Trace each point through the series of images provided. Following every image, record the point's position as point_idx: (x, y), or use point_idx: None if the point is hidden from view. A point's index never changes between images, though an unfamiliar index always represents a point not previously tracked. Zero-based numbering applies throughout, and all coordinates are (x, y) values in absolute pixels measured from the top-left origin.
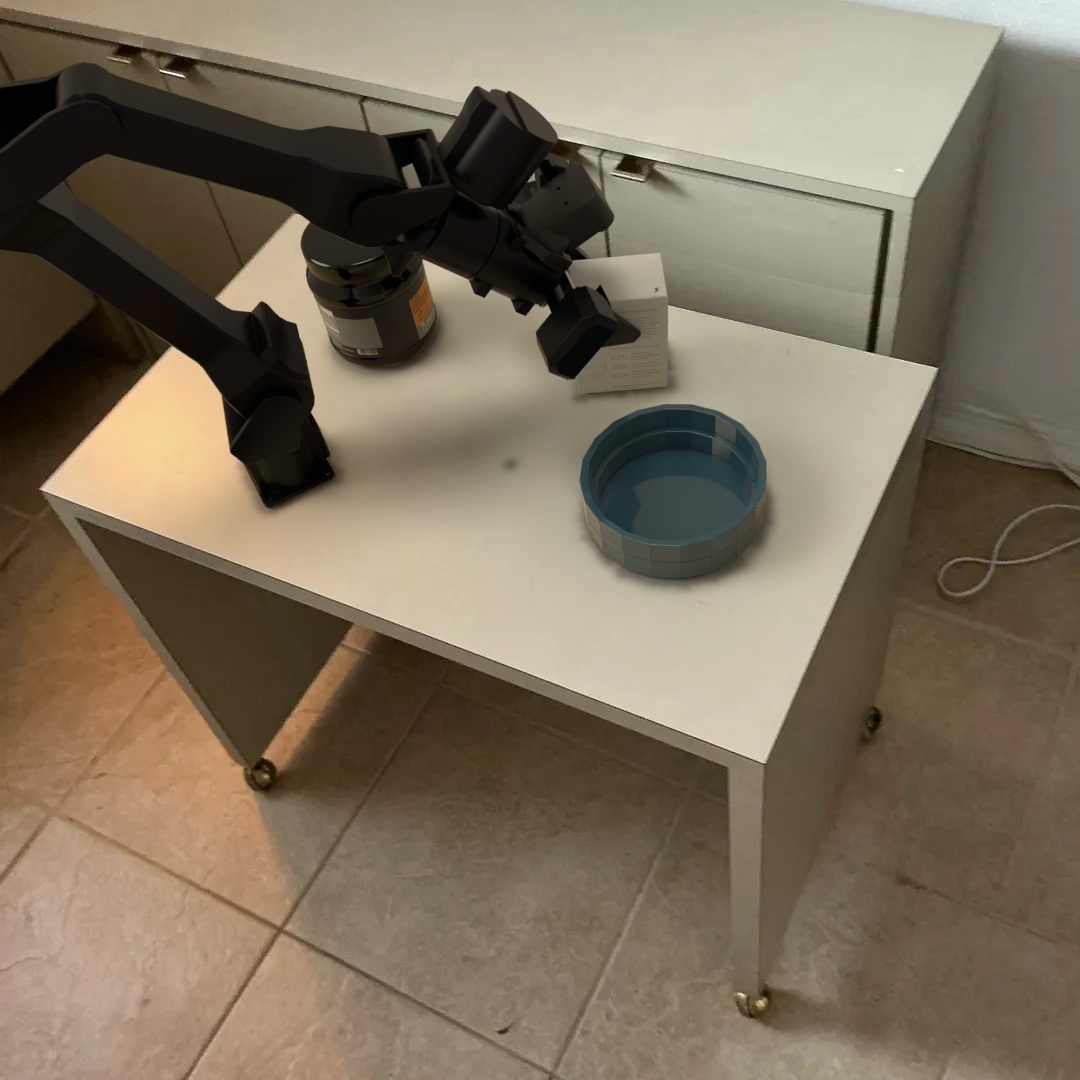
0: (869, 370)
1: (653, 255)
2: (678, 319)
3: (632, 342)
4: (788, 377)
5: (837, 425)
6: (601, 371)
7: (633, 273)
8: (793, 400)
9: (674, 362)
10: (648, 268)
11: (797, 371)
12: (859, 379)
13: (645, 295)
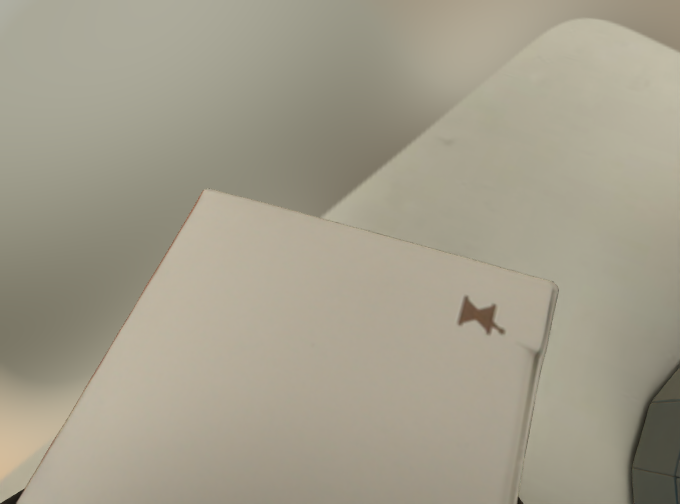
0: (539, 59)
1: (202, 222)
2: None
3: None
4: (508, 162)
5: (662, 137)
6: None
7: (272, 386)
8: (572, 175)
9: None
10: (281, 284)
11: (499, 145)
12: (555, 76)
13: (503, 405)
